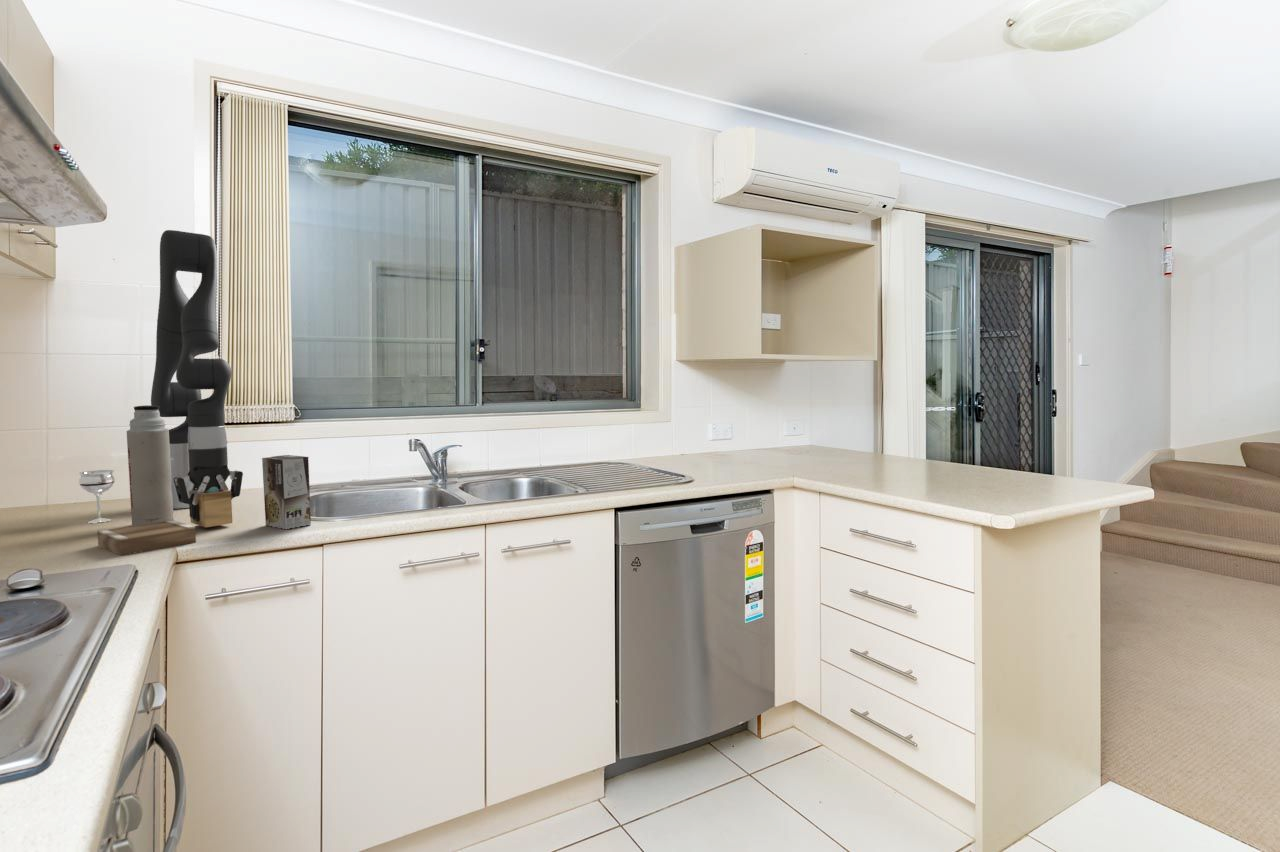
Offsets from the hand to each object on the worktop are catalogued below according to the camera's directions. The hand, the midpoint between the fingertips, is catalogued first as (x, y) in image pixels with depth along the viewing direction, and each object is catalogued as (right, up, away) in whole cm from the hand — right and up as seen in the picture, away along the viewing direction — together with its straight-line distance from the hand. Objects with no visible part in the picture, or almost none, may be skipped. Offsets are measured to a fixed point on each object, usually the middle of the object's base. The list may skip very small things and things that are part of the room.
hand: (211, 518), depth 157 cm
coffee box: (+17, -2, +1) cm, 17 cm away
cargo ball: (0, +5, 0) cm, 5 cm away
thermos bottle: (-15, -2, +3) cm, 16 cm away
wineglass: (-31, -2, +6) cm, 32 cm away
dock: (-3, -3, -16) cm, 17 cm away
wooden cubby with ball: (0, -1, 0) cm, 1 cm away
